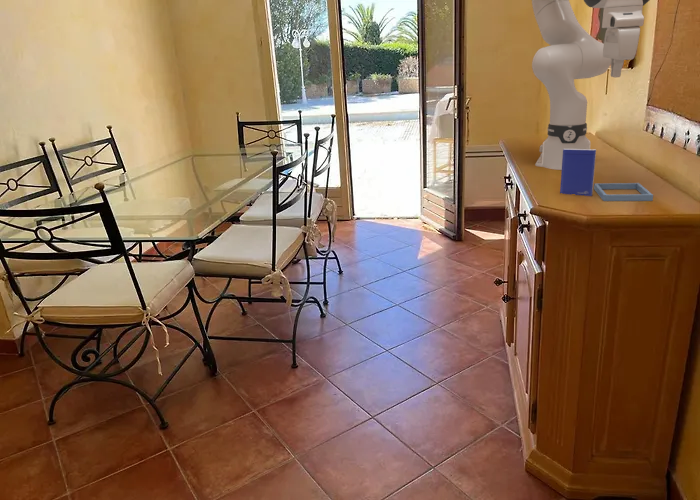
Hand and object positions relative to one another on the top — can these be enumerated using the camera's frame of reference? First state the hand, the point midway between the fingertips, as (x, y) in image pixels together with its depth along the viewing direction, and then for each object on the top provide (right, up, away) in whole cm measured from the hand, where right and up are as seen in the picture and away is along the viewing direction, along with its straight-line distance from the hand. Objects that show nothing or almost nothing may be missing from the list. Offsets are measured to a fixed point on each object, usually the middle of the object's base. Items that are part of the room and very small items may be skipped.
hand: (615, 77), depth 142 cm
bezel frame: (+4, -30, +5) cm, 31 cm away
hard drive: (-7, -30, +8) cm, 32 cm away
